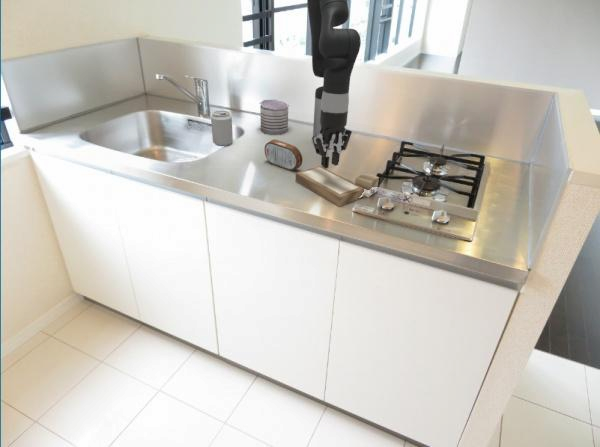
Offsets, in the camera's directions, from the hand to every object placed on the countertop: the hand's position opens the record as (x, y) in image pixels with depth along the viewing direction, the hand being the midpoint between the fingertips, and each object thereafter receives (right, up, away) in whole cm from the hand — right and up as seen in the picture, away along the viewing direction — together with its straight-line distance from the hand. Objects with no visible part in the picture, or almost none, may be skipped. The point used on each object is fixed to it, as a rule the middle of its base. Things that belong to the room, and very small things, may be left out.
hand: (329, 165), depth 123 cm
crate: (+11, -8, +3) cm, 14 cm away
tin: (-15, +2, +18) cm, 23 cm away
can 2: (-19, +20, +48) cm, 55 cm away
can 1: (-38, +13, +34) cm, 53 cm away
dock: (0, -7, +4) cm, 8 cm away
